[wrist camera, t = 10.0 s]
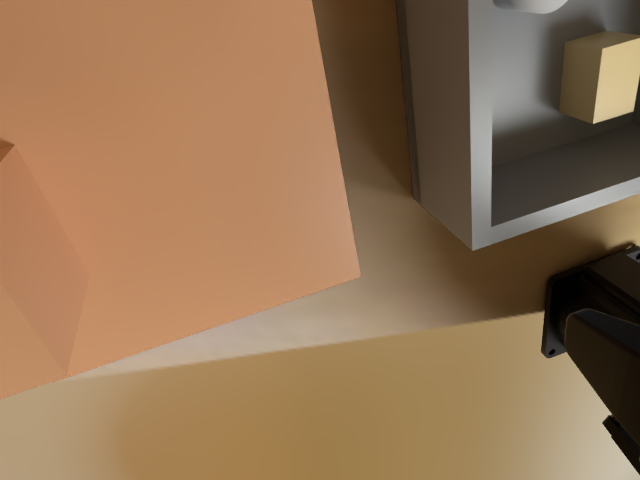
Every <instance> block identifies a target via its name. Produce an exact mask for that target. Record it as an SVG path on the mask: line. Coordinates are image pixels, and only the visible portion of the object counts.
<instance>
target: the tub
mask: <svg viewBox="0 0 640 480" xmlns="http://www.w3.org/2000/svg"><path fill="white" fill-rule="evenodd" d="M396 10H397V21H398V32H399V43H400V54H401V65H402V76H403V87H404V98H405V109H406V120H407V131H408V142H409V153H410V164H411V175H412V186H413V197H414V200H416V201H417V202H418V203H419V204H420V205H421V206H422V207H423V208H424V209H426V210H427V211H428V212H429V213H430V214H431V215H432V216H433V217H435V218H436V219H437V220H438V221H439V222H440V223H441V224H442V225H444V226H445V227H446V228H447V229H448V230H449V231H450V232H451V233H453V234H454V235H455V236H456V237H457V238H458V239H459V240H460V241H462V242H463V243H464V244H465V245H466V246H467V247H468V248H469V249H470V250H472V251H474V250H477V249H480V248H483V247H486V246H489V245H492V244H494V243H497V242H500V241H503V240H506V239H509V238H512V237H515V236H518V235H521V234H523V233H526V232H529V231H532V230H535V229H538V228H541V227H544V226H547V225H550V224H552V223H555V222H558V221H561V220H564V219H567V218H570V217H573V216H576V215H579V214H581V213H584V212H587V211H590V210H593V209H596V208H599V207H602V206H605V205H607V204H610V203H613V202H616V201H619V200H622V199H625V198H628V197H631V196H634V195H636V194H639V193H640V0H396Z"/></svg>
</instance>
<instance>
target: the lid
mask: <svg viewBox="0 0 640 480" xmlns="http://www.w3.org/2000/svg"><path fill="white" fill-rule="evenodd" d="M359 277H361V274H360V268H359V262H358V257H357V251H356V246H355V240H354V234H353V229H352V223H351V218H350V212H349V206H348V201H347V195H346V189H345V184H344V178H343V173H342V167H341V161H340V156H339V150H338V145H337V139H336V133H335V128H334V122H333V117H332V111H331V105H330V100H329V94H328V88H327V83H326V77H325V72H324V66H323V60H322V55H321V49H320V44H319V38H318V32H317V27H316V21H315V15H314V10H313V4H312V0H0V399H2V398H5V397H8V396H11V395H14V394H17V393H20V392H23V391H26V390H29V389H32V388H34V387H37V386H40V385H43V384H46V383H49V382H55V381H58V380H61V379H64V378H67V377H70V376H73V375H76V374H79V373H81V372H84V371H87V370H90V369H93V368H96V367H99V366H102V365H105V364H108V363H111V362H114V361H117V360H119V359H122V358H125V357H128V356H131V355H134V354H137V353H140V352H143V351H146V350H149V349H152V348H155V347H157V346H160V345H163V344H166V343H169V342H172V341H175V340H178V339H181V338H184V337H187V336H190V335H193V334H195V333H198V332H201V331H204V330H207V329H210V328H213V327H216V326H219V325H222V324H225V323H228V322H230V321H233V320H236V319H239V318H242V317H245V316H248V315H251V314H254V313H257V312H260V311H263V310H266V309H268V308H271V307H274V306H277V305H280V304H283V303H286V302H289V301H292V300H295V299H298V298H301V297H304V296H306V295H309V294H312V293H315V292H318V291H321V290H324V289H327V288H330V287H333V286H336V285H339V284H342V283H344V282H347V281H350V280H353V279H356V278H359Z"/></svg>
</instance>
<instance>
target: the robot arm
mask: <svg viewBox="0 0 640 480" xmlns="http://www.w3.org/2000/svg"><path fill="white" fill-rule="evenodd" d="M541 352H542V354H544V356H545V357H546V358H552V357H554V356H557V355H559V354H562V353H564V352H567V353H568V355H569V356H570V357H571V359H572V360H573V362H574V363H575V364H576V366H577V367H578V368H579V370H580V371H581V373H582V374H583V375H584V377H585V378H586V379H587V381H588V382H589V384H590V385H591V386H592V387H593V389H594V390H595V391H596V393H597V394H598V396H599V397H600V398H601V400H602V401H603V403H604V404H605V405H606V407H607V408H608V409H609V411H610V412H611V413H612V415H611V416H610V415H609V416H608V417H607V418H606V419H605V420H604V421H603V425H604V426H605V427H606V429H607V430H608V431H609V433H610V434H611V435H612V436H611V437H612V439H613V440H614V441H615V443H616V444H617V445H618V447H619V448H620V449H621V450H622V452H623V453H624V455H625V456H626V457H627V459H628V460H629V461H630V463H631V464H632V465H633V467H634V468H635V469H636V471H637V472H638V473H639V475H640V246H634V247H632V248H629V249H626V250H623V251H621V252H618V253H615V254H612V255H610V256H607V257H604V258H601V259H599V260H596V261H593V262H590V263H588V264H585V265H582V266H579V267H577V268H574V269H571V270H568V271H566V272H563V273H560V274H557V275H555V276H553V277H552V278H551V279H550V280H549V281H548V284H547V292H546V303H545V314H544V325H543V336H542V347H541Z"/></svg>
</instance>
